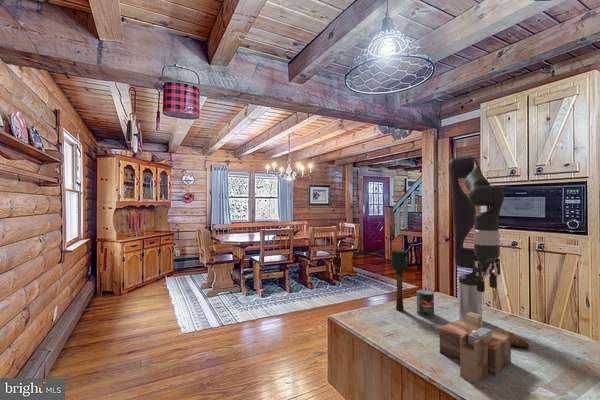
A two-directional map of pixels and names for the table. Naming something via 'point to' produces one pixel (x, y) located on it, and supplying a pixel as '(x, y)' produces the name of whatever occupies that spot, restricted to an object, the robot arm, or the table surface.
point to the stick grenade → (399, 273)
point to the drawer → (479, 335)
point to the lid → (472, 324)
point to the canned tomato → (425, 303)
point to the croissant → (516, 340)
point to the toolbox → (475, 355)
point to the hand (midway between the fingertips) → (487, 289)
